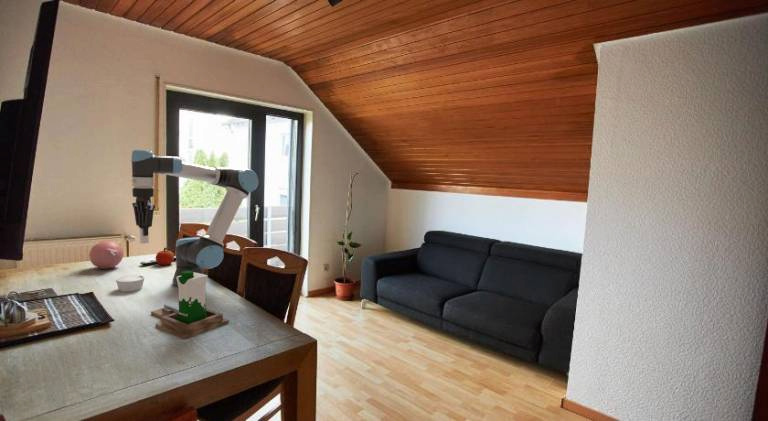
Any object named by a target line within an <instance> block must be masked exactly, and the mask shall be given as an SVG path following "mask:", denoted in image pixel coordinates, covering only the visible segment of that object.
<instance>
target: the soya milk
mask: <svg viewBox="0 0 768 421" xmlns="http://www.w3.org/2000/svg"><path fill="white" fill-rule="evenodd" d="M204 274H205V273H204ZM204 274H200V273H195V272H193V271H191V270H187V271H182V272H181V276H177V277H176V279H177V283H178V286H177V287H178V288H177V289H178V303H179V317H178V321H180V322H183V323H185V324H190V323H193V322H196V321H199V320H202V319H205V318H207V315H206V308H207V302H206V300H207V299H206V298H207V295H206V294H207V291H206V288H207V286H206V285H207V282H208V276H209V275H207V274H205V275H204Z"/></svg>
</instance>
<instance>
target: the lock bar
mask: <svg viewBox="0 0 768 421" xmlns="http://www.w3.org/2000/svg"><path fill="white" fill-rule="evenodd" d="M163 308H168V309H170V310H172V314H173V313H178V317H179V304H178V303H177V302H174V301H171V302H168V303H164V304H163Z"/></svg>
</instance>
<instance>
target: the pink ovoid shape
mask: <svg viewBox="0 0 768 421" xmlns="http://www.w3.org/2000/svg"><path fill="white" fill-rule="evenodd" d="M88 257H89V258H88V259H89V261H90V262H91V264H92V265H93V266H94V267H95V268H97V269H98V268H99V269H101V270H102V269H103V270H104V269H105V270H107V269H108V270H109V269H113V268H114V267H116V266H118V265H119V264H120V263H121V262H122V261H123V258H124V249H123V248H122V246H121V245H120V244H118V243H117V242H115V241H112V240H102V241H99V242H98V243H95V244H94V245H93V246H92V247H91V249H90V251H89V254H88Z"/></svg>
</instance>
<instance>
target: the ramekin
mask: <svg viewBox="0 0 768 421" xmlns="http://www.w3.org/2000/svg"><path fill="white" fill-rule="evenodd" d="M144 280H145V277H144V276H143V275H141V274H131V275H124V276H120V277H118V278H116V280H115V282H116V285H117V288H118V290H119V291H120V292H124V293H128V292H129V293H130V292H135V291H136V292H137V291H140V290H141V289H142V288H143V286H144Z"/></svg>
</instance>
